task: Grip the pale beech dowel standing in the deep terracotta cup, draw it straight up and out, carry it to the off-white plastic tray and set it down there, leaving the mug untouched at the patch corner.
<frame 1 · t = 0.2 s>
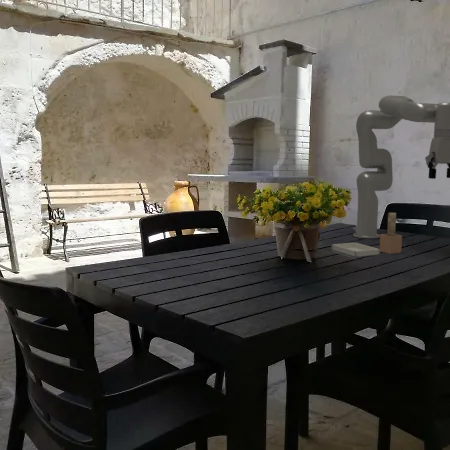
hand: (441, 178, 207), 31 cm above the table, fingers open, 9 cm apart
terracotta cup: (390, 254, 211), on the table
mug: (307, 250, 220), on the table
beech dowel: (390, 251, 211), point 1 cm above the table, touching terracotta cup
plastic tray: (355, 254, 211), on the table
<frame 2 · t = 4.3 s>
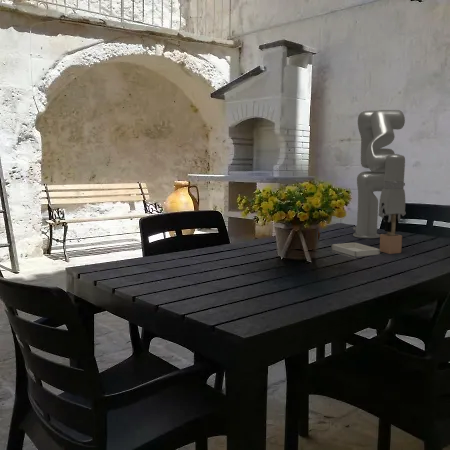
hand: (391, 230, 210), 10 cm above the table, fingers closed on beech dowel, 3 cm apart
beech dowel: (390, 251, 211), point 1 cm above the table, touching gripper, terracotta cup
everything else where it was.
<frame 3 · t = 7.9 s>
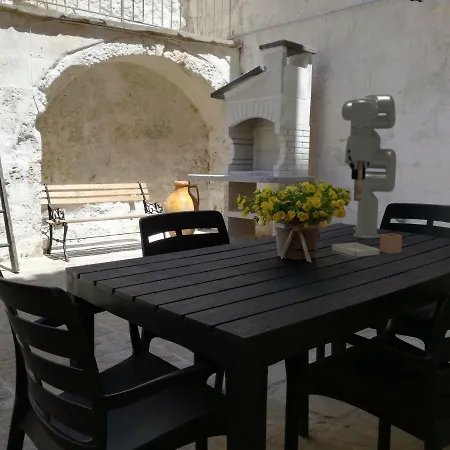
hand: (358, 178, 207), 31 cm above the table, fingers closed on beech dowel, 3 cm apart
beech dowel: (357, 200, 208), point 22 cm above the table, touching gripper
everything else where it was.
when the fingers open (11 cm above the table, at t = 11.7 s): beech dowel stays where it is, resting on plastic tray.
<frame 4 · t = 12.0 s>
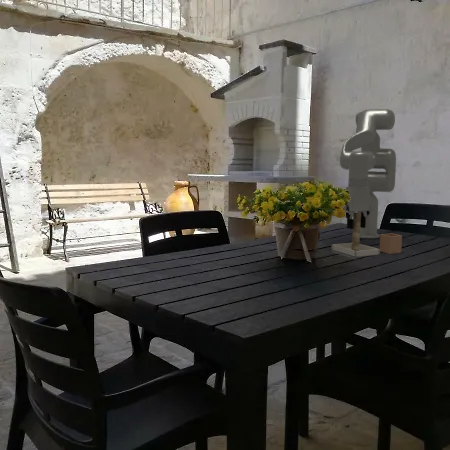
hand: (356, 227, 210), 11 cm above the table, fingers open, 5 cm apart
beech dowel: (355, 251, 211), point 1 cm above the table, touching plastic tray
everything else where it was.
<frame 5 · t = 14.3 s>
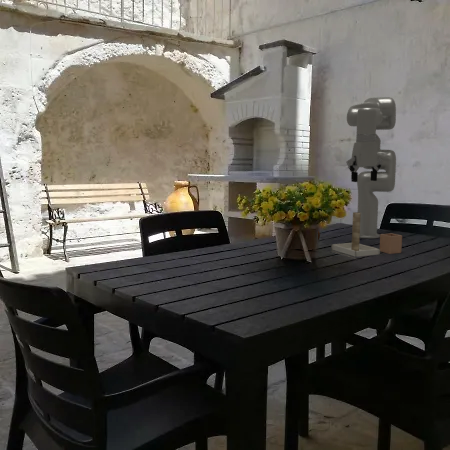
hand: (364, 181, 212), 29 cm above the table, fingers open, 9 cm apart
nothing on the table moved.
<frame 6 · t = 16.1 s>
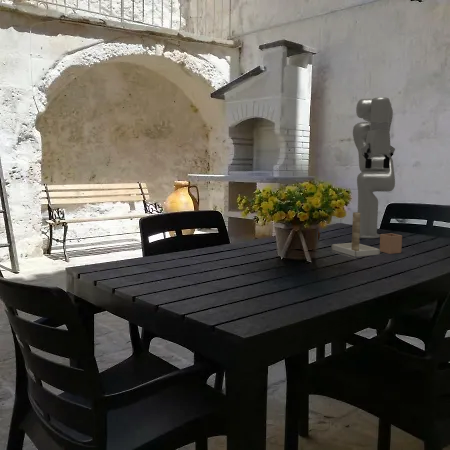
hand: (377, 168, 221), 34 cm above the table, fingers open, 9 cm apart
nothing on the table moved.
at the end: beech dowel inside the target area on the plastic tray (0.0 cm from its centre), point 1.0 cm above the plastic tray's base; beech dowel moved 14.3 cm from its start; the gripper is holding nothing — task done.
